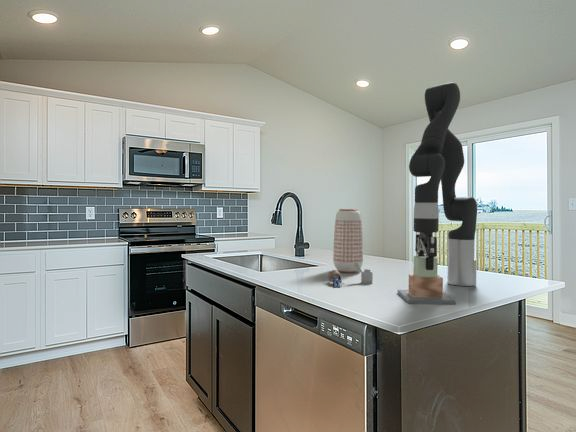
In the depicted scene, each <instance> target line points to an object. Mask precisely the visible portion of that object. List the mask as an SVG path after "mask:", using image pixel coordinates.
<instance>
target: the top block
mask: <svg viewBox="0 0 576 432" xmlns="http://www.w3.org/2000/svg"><path fill="white" fill-rule="evenodd" d="M438 264H439V263H438V257H435V258H434V269H433V270H426V255H425V256H418V255H413V273H412V274H413V275H415V276H417V277H437V275H438Z"/></svg>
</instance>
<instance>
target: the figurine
mask: <svg viewBox="0 0 576 432" xmlns="http://www.w3.org/2000/svg"><path fill="white" fill-rule="evenodd" d="M328 279H329V284H330V285H334V288H341V285H345V282H343V281H342V275H341V272H339V271H338V270H337V269H332V270H331V271H329V273H328Z"/></svg>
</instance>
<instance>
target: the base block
mask: <svg viewBox="0 0 576 432" xmlns="http://www.w3.org/2000/svg"><path fill="white" fill-rule="evenodd" d="M408 290H409V293H410V294H411V295H412V296H413V297H443V293H444V277H442V276H440V275H438V274H437V277H417V276H415V275H413V273H409V274H408Z"/></svg>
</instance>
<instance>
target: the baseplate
mask: <svg viewBox="0 0 576 432" xmlns="http://www.w3.org/2000/svg"><path fill="white" fill-rule="evenodd" d="M397 295H398V296H399V297H401V298H402V299H403V300H404V301H405V302H406V303H408V304H418V305H419V304H422V305H425V304H426V305H456V304H457V303H456V299H454V298H452V297H451V296H450V295H448V294H446V293H445V292H443V297H413V296H412V295H411V294H410V293H409V289H397Z"/></svg>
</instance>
